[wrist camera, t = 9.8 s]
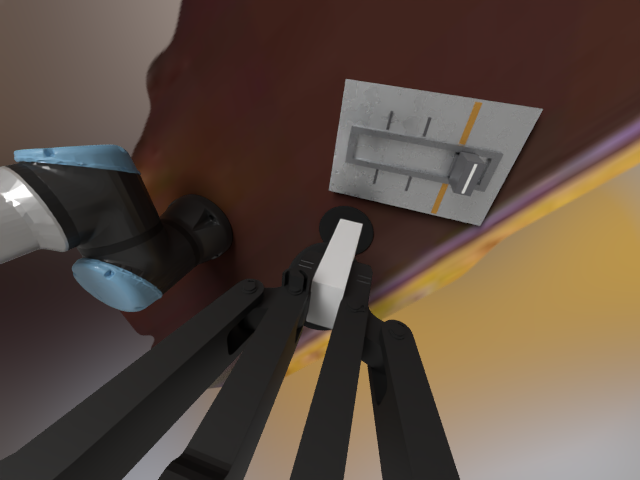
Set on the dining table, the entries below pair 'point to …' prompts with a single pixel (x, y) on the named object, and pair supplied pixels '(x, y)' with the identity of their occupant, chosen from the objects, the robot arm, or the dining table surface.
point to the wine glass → (326, 233)
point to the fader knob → (465, 173)
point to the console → (424, 147)
